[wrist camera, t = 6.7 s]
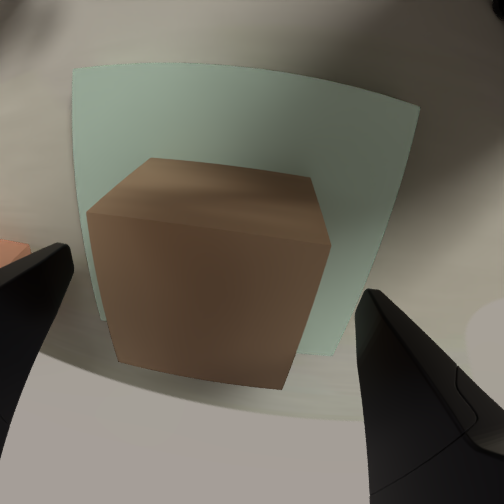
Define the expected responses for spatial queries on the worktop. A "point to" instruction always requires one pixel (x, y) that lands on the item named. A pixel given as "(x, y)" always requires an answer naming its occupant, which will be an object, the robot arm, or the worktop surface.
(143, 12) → the worktop surface
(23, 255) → the terracotta brick
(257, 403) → the worktop surface
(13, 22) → the worktop surface
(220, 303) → the walnut brick
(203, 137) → the base plate
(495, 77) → the worktop surface
